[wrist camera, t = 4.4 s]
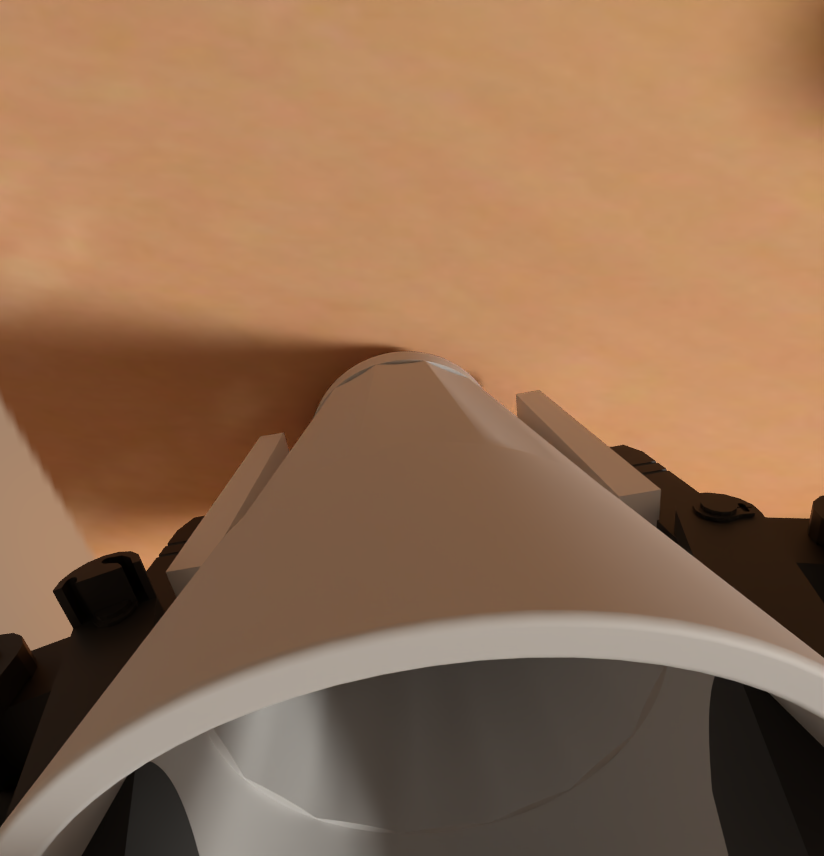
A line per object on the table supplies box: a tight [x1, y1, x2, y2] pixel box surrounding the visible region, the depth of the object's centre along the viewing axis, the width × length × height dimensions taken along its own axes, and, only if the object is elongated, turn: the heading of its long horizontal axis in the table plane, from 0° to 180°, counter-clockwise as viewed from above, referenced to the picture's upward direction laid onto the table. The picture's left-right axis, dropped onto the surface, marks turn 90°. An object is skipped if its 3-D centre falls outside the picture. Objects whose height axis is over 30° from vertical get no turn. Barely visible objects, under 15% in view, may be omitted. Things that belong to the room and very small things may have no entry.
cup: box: [0, 351, 824, 856], centre depth 9 cm, size 8×8×12 cm
